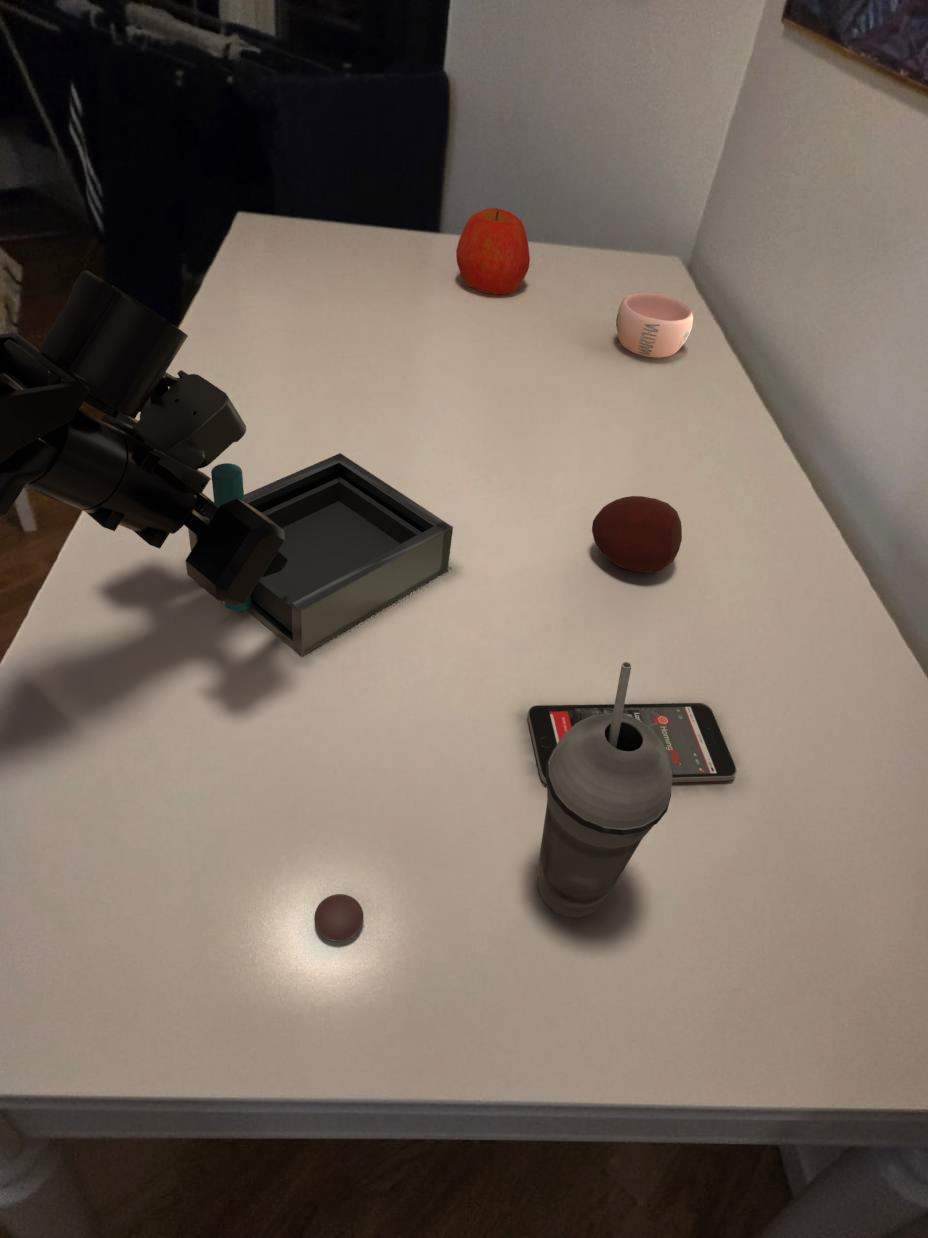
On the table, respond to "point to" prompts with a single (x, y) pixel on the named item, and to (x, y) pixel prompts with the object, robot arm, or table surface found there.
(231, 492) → the black compartment tray
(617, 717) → the beverage cup
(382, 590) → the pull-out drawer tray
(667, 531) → the potato
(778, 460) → the table surface
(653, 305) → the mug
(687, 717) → the smartphone
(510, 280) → the apple
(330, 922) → the chocolate truffle
